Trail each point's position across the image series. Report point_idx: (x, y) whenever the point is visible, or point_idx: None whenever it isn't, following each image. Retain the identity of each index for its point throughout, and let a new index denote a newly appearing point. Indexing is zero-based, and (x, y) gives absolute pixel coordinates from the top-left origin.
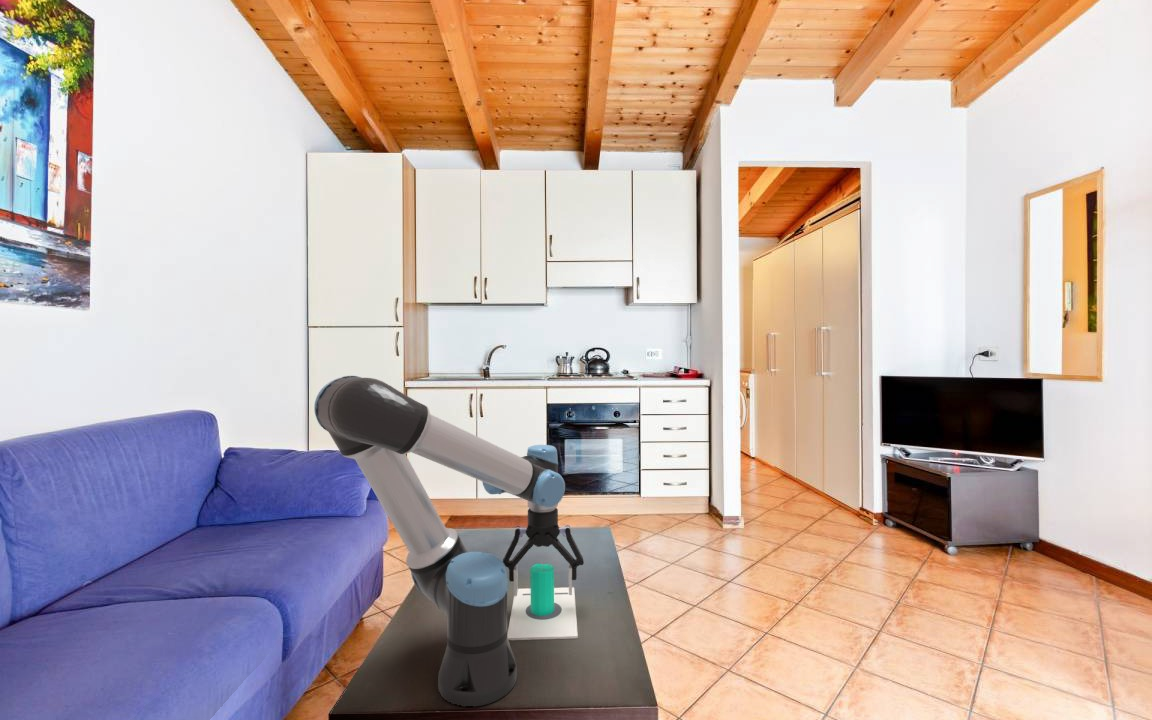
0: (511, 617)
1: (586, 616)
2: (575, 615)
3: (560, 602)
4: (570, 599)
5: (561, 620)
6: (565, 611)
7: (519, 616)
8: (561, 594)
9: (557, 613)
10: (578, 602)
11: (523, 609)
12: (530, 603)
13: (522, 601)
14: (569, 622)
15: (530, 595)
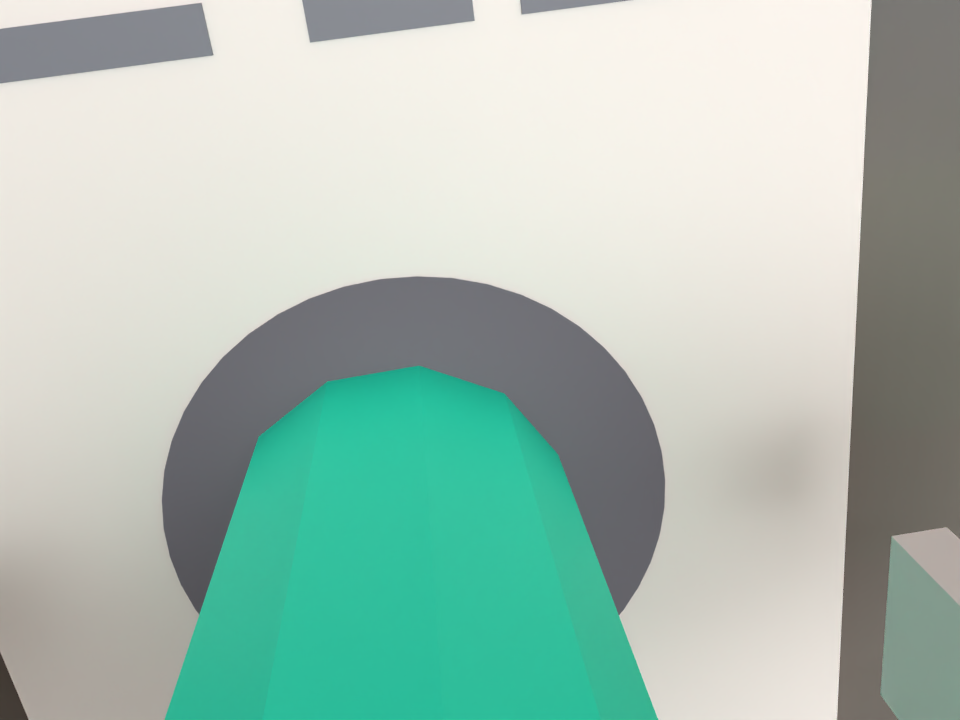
0: (42, 713)
1: (953, 527)
2: (835, 580)
3: (638, 287)
4: (793, 182)
5: (669, 694)
6: (714, 514)
7: (138, 685)
8: (644, 8)
9: (614, 572)
10: (895, 191)
11: (128, 528)
12: (177, 361)
13: (22, 312)
14: (758, 714)
15: (84, 89)
